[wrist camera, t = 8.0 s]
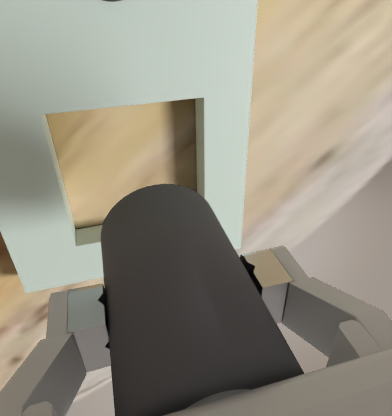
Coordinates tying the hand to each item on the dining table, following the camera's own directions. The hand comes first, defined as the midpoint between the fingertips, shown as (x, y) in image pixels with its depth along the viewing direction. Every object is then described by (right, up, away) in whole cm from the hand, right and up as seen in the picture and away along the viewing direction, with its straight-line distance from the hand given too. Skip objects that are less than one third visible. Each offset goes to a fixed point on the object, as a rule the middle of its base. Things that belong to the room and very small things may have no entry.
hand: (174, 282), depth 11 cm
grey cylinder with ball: (-1, +1, +2) cm, 3 cm away
